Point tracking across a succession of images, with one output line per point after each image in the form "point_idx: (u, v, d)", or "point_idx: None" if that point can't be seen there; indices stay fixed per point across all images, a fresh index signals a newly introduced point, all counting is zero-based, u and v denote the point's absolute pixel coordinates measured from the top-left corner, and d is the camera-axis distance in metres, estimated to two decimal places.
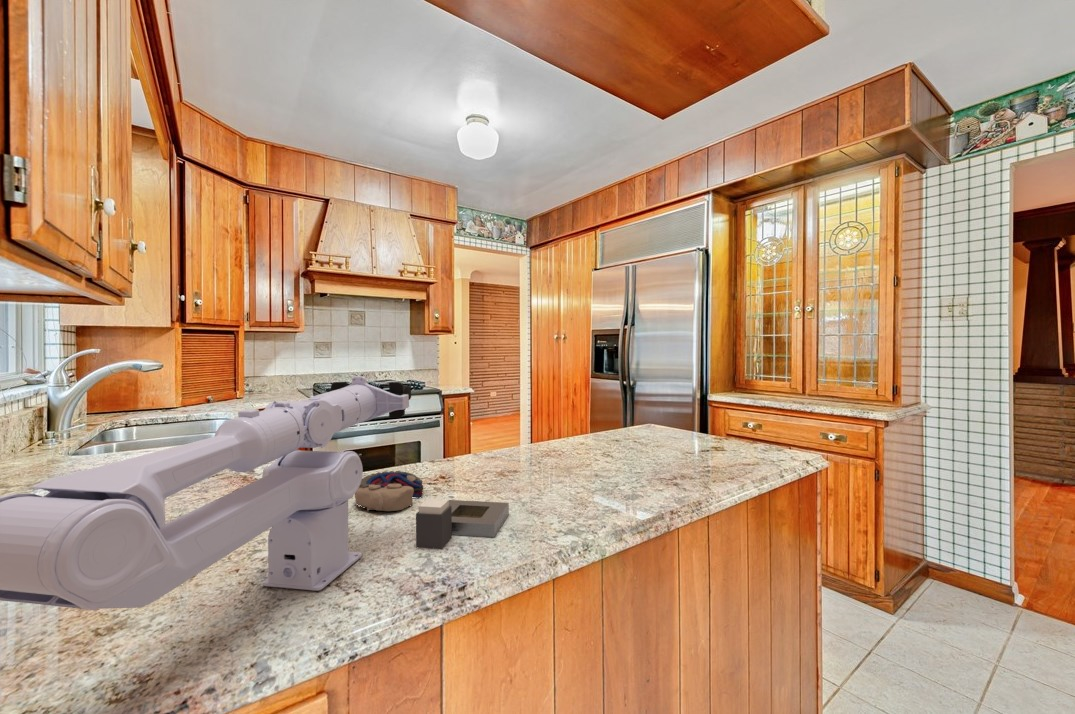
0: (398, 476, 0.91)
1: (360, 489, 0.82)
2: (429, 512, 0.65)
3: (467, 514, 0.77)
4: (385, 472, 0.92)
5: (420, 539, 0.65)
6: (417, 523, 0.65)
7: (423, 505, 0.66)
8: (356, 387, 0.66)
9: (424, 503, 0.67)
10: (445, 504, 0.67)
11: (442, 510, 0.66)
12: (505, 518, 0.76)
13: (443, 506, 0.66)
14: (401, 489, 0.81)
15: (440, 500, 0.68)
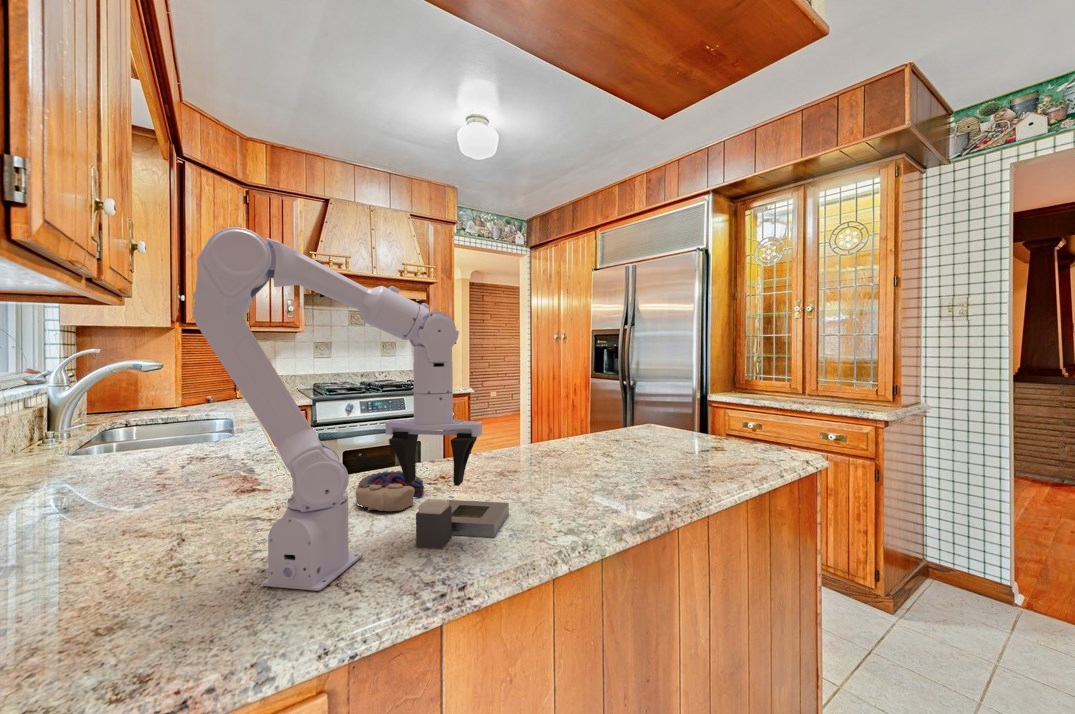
0: (399, 476, 0.91)
1: (361, 489, 0.82)
2: (429, 512, 0.65)
3: (467, 514, 0.77)
4: (386, 472, 0.92)
5: (420, 539, 0.65)
6: (417, 523, 0.65)
7: (423, 505, 0.66)
8: None
9: (424, 503, 0.67)
10: (445, 504, 0.67)
11: (442, 510, 0.66)
12: (505, 518, 0.76)
13: (443, 506, 0.66)
14: (402, 489, 0.81)
15: (440, 500, 0.68)
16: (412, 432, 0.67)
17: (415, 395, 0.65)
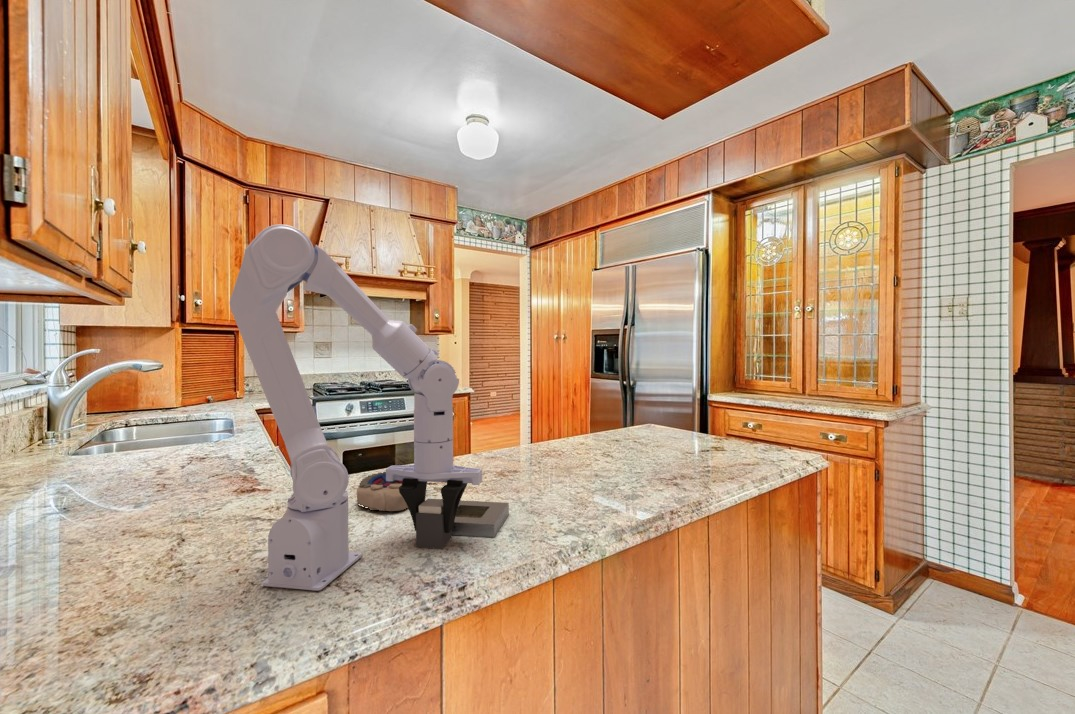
0: None
1: (362, 489, 0.81)
2: (429, 512, 0.65)
3: (467, 514, 0.77)
4: None
5: (420, 539, 0.65)
6: (417, 523, 0.65)
7: (423, 505, 0.66)
8: None
9: (424, 503, 0.67)
10: None
11: (442, 510, 0.66)
12: (505, 518, 0.76)
13: None
14: None
15: (440, 500, 0.68)
16: (412, 479, 0.67)
17: (415, 443, 0.65)
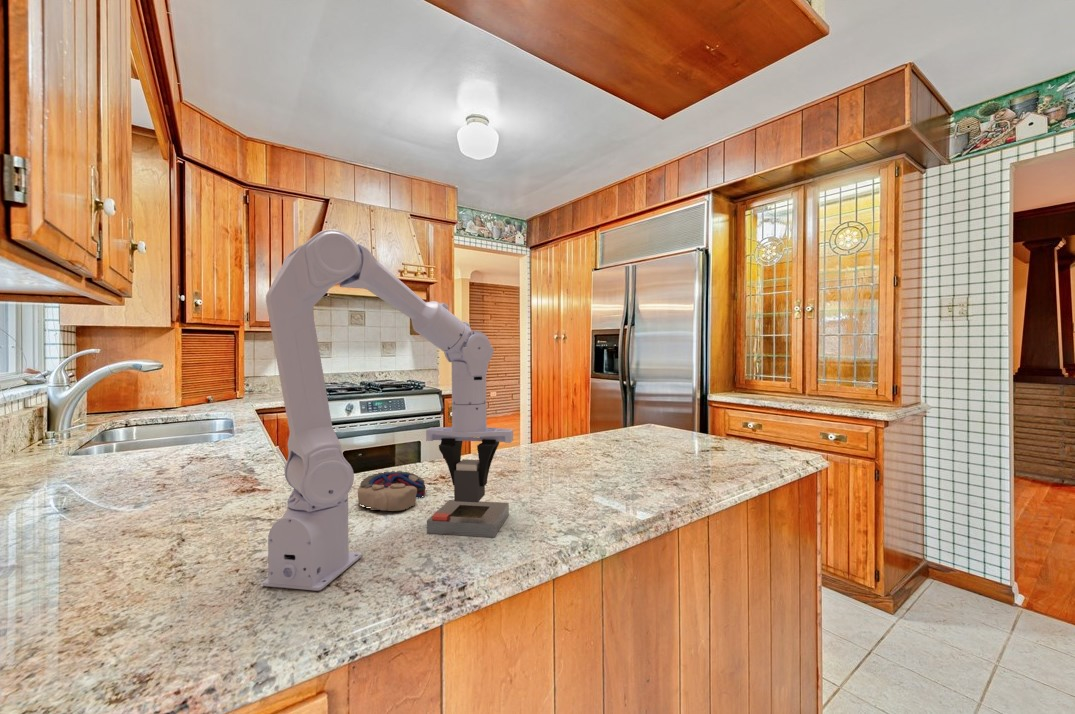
0: (400, 476, 0.91)
1: (363, 489, 0.81)
2: (466, 469, 0.73)
3: (467, 514, 0.77)
4: (387, 472, 0.92)
5: (458, 494, 0.73)
6: (455, 479, 0.73)
7: (460, 463, 0.73)
8: None
9: (461, 462, 0.74)
10: None
11: (477, 468, 0.73)
12: (505, 518, 0.76)
13: (478, 464, 0.73)
14: (405, 488, 0.81)
15: (474, 460, 0.75)
16: (450, 438, 0.74)
17: (454, 405, 0.72)
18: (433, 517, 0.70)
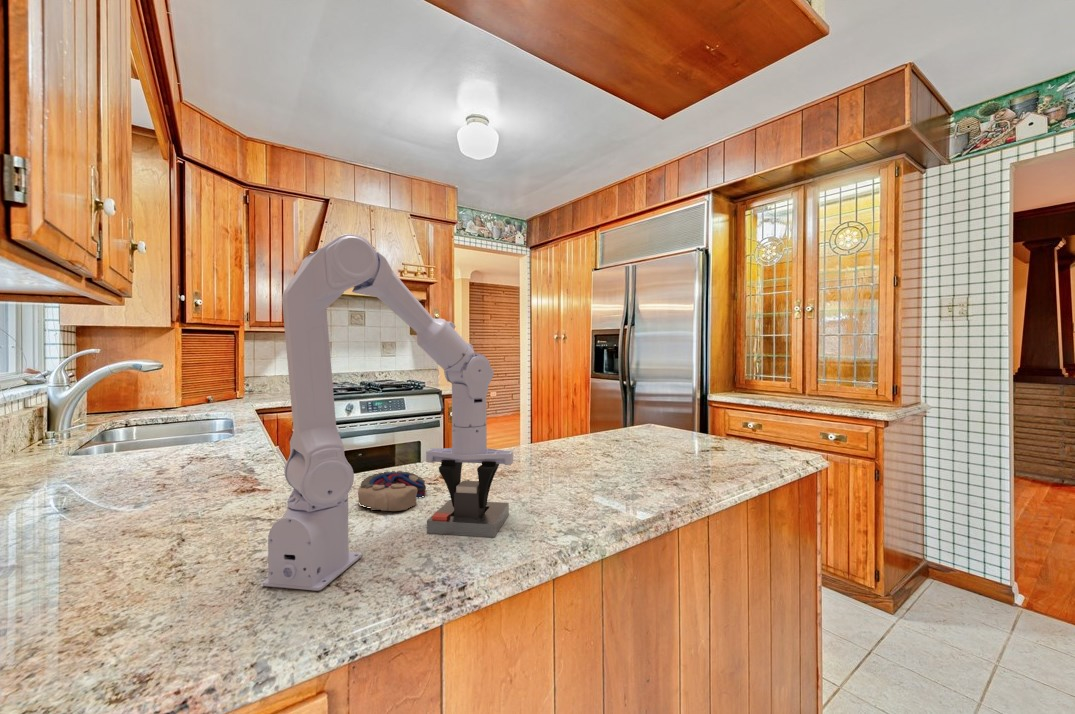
0: (400, 476, 0.91)
1: (364, 489, 0.81)
2: (466, 491, 0.73)
3: None
4: (387, 472, 0.92)
5: (458, 516, 0.73)
6: (455, 501, 0.73)
7: (460, 485, 0.73)
8: None
9: (460, 484, 0.74)
10: None
11: (477, 490, 0.73)
12: (505, 518, 0.76)
13: (478, 486, 0.73)
14: (406, 488, 0.81)
15: (474, 481, 0.75)
16: (450, 460, 0.74)
17: (454, 428, 0.72)
18: (433, 517, 0.70)
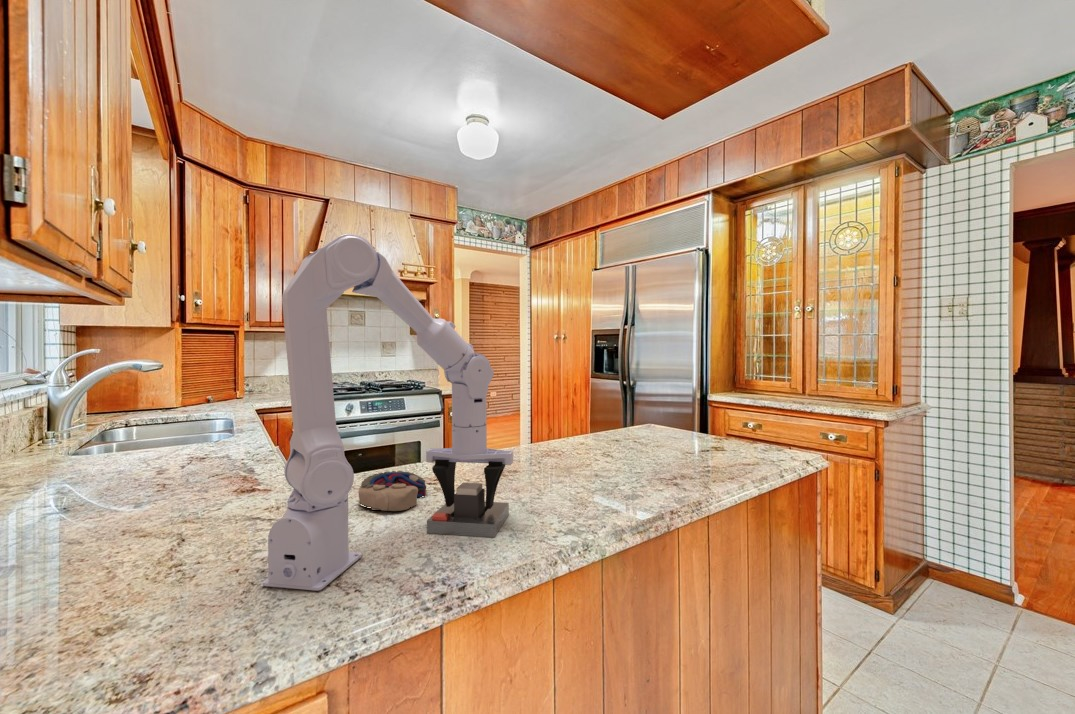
0: (401, 476, 0.91)
1: (364, 489, 0.81)
2: (466, 494, 0.73)
3: None
4: (387, 472, 0.92)
5: None
6: (455, 503, 0.73)
7: (460, 487, 0.73)
8: None
9: (461, 486, 0.74)
10: (479, 487, 0.74)
11: (477, 492, 0.73)
12: (505, 518, 0.76)
13: (478, 488, 0.73)
14: (406, 488, 0.81)
15: (474, 483, 0.75)
16: (450, 460, 0.74)
17: (454, 428, 0.72)
18: (433, 517, 0.70)
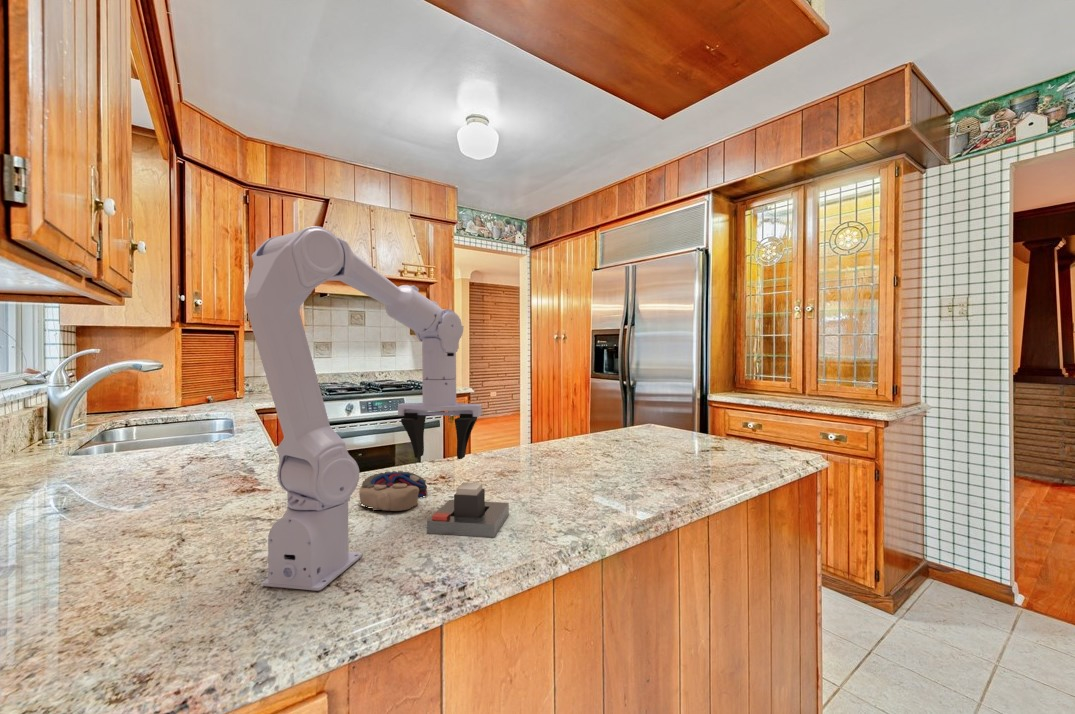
0: (401, 476, 0.91)
1: (365, 489, 0.81)
2: (466, 494, 0.73)
3: None
4: (388, 472, 0.92)
5: None
6: (455, 503, 0.73)
7: (460, 487, 0.73)
8: None
9: (461, 486, 0.74)
10: (479, 487, 0.74)
11: (477, 492, 0.73)
12: (505, 518, 0.76)
13: (478, 488, 0.73)
14: (407, 488, 0.81)
15: (474, 483, 0.75)
16: (421, 413, 0.77)
17: (424, 381, 0.75)
18: (433, 517, 0.70)
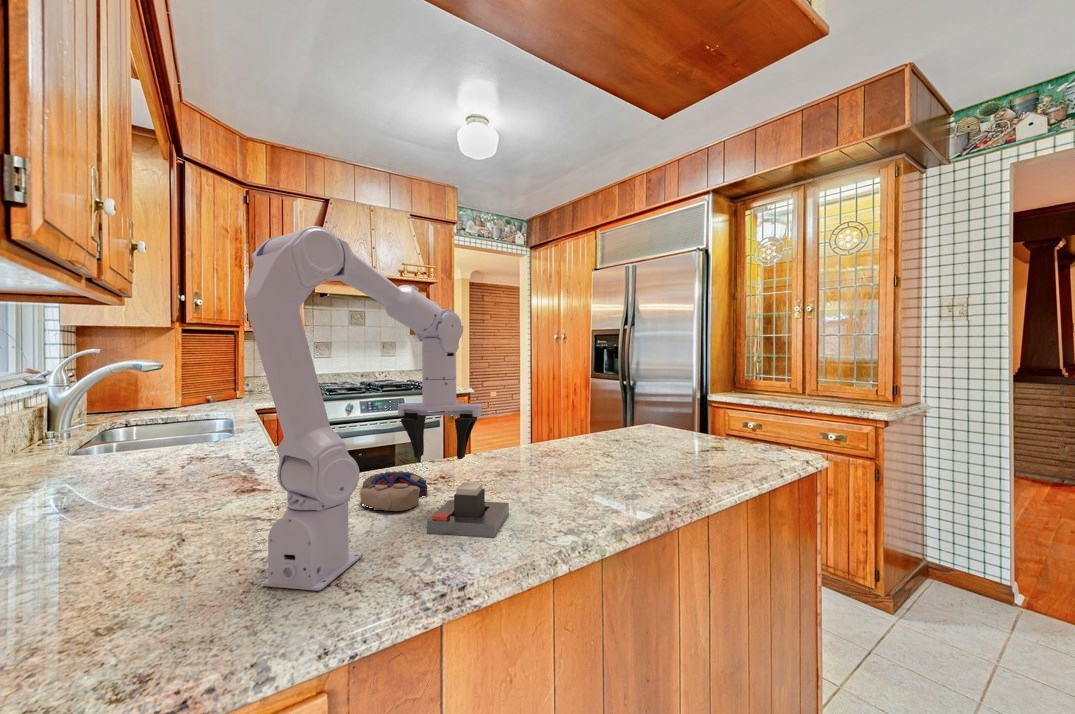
0: (402, 476, 0.91)
1: (366, 489, 0.81)
2: (466, 494, 0.73)
3: None
4: (388, 472, 0.92)
5: None
6: (455, 503, 0.73)
7: (460, 487, 0.73)
8: None
9: (461, 486, 0.74)
10: (479, 487, 0.74)
11: (477, 492, 0.73)
12: (505, 518, 0.76)
13: (478, 488, 0.73)
14: (408, 488, 0.81)
15: (474, 483, 0.75)
16: (421, 413, 0.77)
17: (424, 381, 0.75)
18: (433, 517, 0.70)
